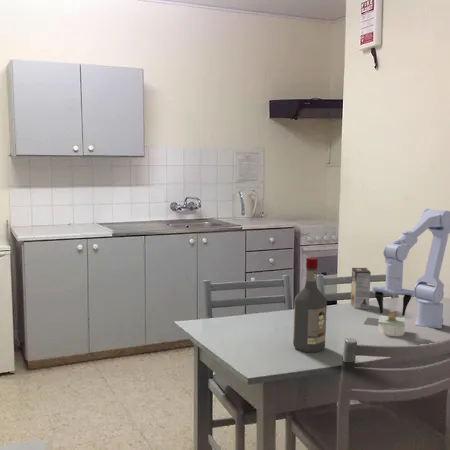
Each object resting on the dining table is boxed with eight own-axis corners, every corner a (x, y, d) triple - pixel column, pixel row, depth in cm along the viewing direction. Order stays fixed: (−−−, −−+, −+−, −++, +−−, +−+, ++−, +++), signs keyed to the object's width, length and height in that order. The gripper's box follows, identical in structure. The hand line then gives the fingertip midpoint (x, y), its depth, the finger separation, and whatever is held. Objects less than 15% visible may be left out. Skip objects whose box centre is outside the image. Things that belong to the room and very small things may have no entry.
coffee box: (349, 303, 248) (351, 267, 246) (364, 303, 248) (366, 267, 246) (354, 309, 239) (355, 271, 237) (369, 309, 239) (371, 271, 237)
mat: (393, 321, 221) (393, 320, 221) (390, 328, 212) (390, 327, 212) (367, 318, 225) (367, 317, 225) (363, 324, 216) (363, 324, 216)
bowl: (405, 331, 209) (406, 320, 208) (402, 338, 201) (403, 327, 200) (380, 328, 212) (380, 317, 212) (376, 334, 204) (377, 323, 204)
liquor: (289, 347, 189) (292, 258, 185) (306, 341, 195) (309, 255, 192) (311, 354, 182) (314, 262, 179) (328, 348, 189) (331, 258, 185)
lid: (405, 320, 209) (405, 309, 208) (404, 326, 201) (405, 315, 200) (380, 317, 212) (380, 307, 211) (378, 324, 203) (378, 313, 203)
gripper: (371, 277, 203) (370, 314, 205) (414, 281, 198) (412, 319, 199) (374, 273, 210) (373, 309, 211) (416, 277, 204) (414, 314, 206)
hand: (392, 314), depth 206 cm, fingers open, 7 cm apart
